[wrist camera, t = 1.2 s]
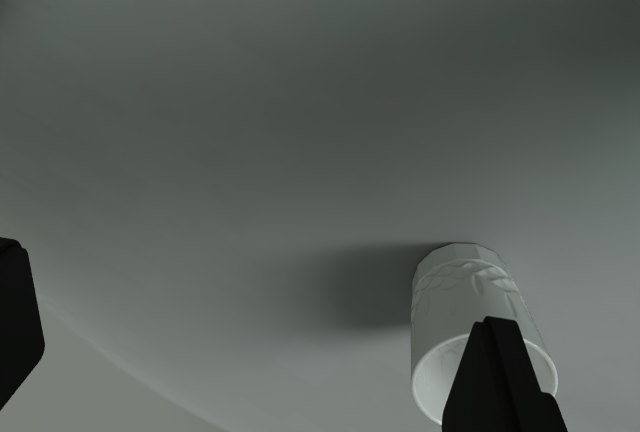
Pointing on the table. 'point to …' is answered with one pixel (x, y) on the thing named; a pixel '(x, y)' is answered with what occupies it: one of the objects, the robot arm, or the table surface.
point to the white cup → (463, 320)
